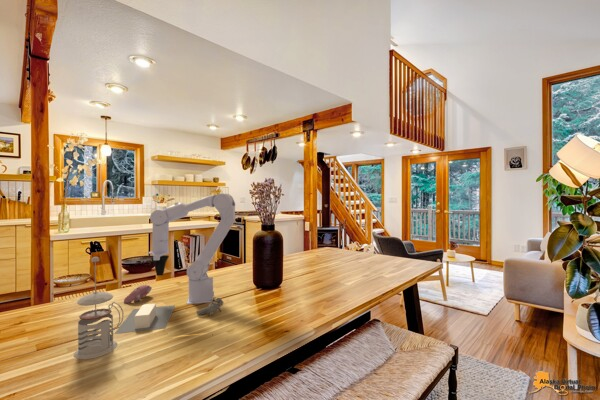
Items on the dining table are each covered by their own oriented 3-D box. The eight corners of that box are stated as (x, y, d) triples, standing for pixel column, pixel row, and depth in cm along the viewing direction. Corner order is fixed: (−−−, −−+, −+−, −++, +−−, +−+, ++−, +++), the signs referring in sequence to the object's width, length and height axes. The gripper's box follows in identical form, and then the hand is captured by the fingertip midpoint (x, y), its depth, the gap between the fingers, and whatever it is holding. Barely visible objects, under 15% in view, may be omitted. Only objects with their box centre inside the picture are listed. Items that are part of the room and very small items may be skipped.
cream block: (155, 303, 101) (148, 314, 92) (155, 314, 101) (149, 327, 92) (143, 304, 100) (134, 316, 91) (143, 316, 100) (134, 328, 91)
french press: (88, 341, 84) (87, 253, 84) (130, 339, 85) (130, 252, 85) (63, 360, 74) (62, 261, 74) (112, 358, 75) (111, 260, 75)
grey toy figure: (201, 310, 107) (225, 300, 108) (204, 326, 103) (229, 315, 105) (190, 301, 99) (216, 290, 100) (193, 317, 95) (220, 306, 97)
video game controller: (131, 308, 112) (138, 292, 112) (121, 302, 113) (128, 287, 112) (148, 299, 122) (155, 285, 121) (140, 294, 123) (146, 279, 122)
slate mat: (175, 306, 110) (175, 305, 110) (165, 329, 91) (165, 328, 91) (133, 310, 107) (133, 309, 107) (114, 335, 87) (114, 333, 87)
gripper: (153, 238, 121) (153, 270, 121) (144, 243, 107) (144, 280, 107) (171, 237, 123) (171, 270, 123) (165, 243, 109) (165, 279, 109)
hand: (160, 275), depth 115 cm, fingers closed
